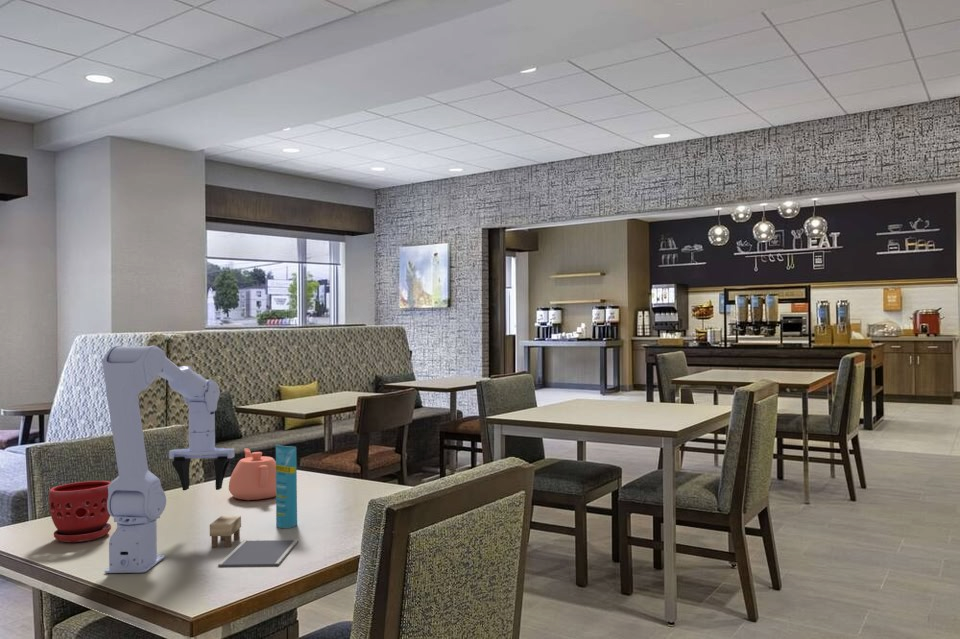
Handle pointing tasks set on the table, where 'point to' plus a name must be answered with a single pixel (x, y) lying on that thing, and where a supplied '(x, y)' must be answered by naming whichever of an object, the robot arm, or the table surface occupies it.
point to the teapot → (254, 477)
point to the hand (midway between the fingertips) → (202, 489)
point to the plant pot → (80, 510)
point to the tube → (286, 487)
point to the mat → (259, 553)
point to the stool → (225, 530)
